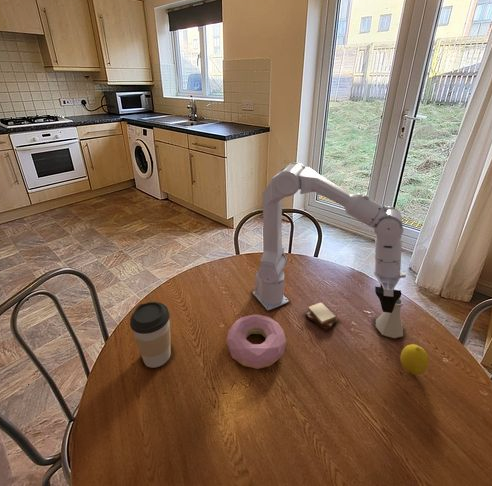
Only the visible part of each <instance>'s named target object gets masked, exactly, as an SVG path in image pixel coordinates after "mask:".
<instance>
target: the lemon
mask: <svg viewBox="0 0 492 486" xmlns="http://www.w3.org/2000/svg"><path fill="white" fill-rule="evenodd" d="M400 363H401V366H402V368H403V370H405V371H406V372H408V373H409V374H411V375H415V376H416V375H417V376H418V375H422V374H423V373H425V372H426V371H427V369H428V366H429V356H428V353H427V351H426V350H425V349H424V348H423V347H422V346H420V345H418V344H414V343H412V344H407V345H406V346H405V347H404V348H403V349H402V350H401V353H400Z"/></svg>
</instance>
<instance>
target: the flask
mask: <svg viewBox="0 0 492 486" xmlns="http://www.w3.org/2000/svg"><path fill="white" fill-rule="evenodd" d="M403 301H404V300H402V299H401V297H400V298H399V299H398V300H397V302H396V303H395V306H394V309H393V312H392V313H388V312H383V311H382V313H381V314H380V315H379V316H377V318H376V319H375V328H376V329H377V331H379V333H380V334H381V335H382V336H384V337H388V338H392V339H397V338H402V337H404V327H403V323H402V318H401V307H402V306H404V302H403Z"/></svg>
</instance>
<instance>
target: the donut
mask: <svg viewBox="0 0 492 486" xmlns="http://www.w3.org/2000/svg"><path fill="white" fill-rule="evenodd" d="M250 335H261V336H262V337H264V338H265V340H264V341H263V342H262V343H260V344H259V343H252V342H250V341H249V340H248V339H247V338H248V337H249V336H250ZM286 345H287V340H286V336H285V331H284V329H283V328H282V326H281V325H280V324H279V322H277V321H276V320H275V319H272V318H271V317H270V316H265V315H261V314H257V313H256V314H254V313H253V314H250V315H245V316H242V317H240V318H237V319H236V320H235V321H234V323H233V324H232V325H231V326H230V328H229V329H228V331H227V338H226V346H227V349H228V351H229V353H230V356H231V358H232V359H233V360H235V361H236V362H238V364H240V365H242V366H243V367H247V368H251V369H252V368H253V369H256V370H258V369H264V368H268V367H271V366H272V365H273V364H274V363H276V362H277V361H278V360H280V359H281V358H282V357H283V356H284V354H285V351H286Z"/></svg>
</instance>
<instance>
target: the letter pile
mask: <svg viewBox="0 0 492 486" xmlns="http://www.w3.org/2000/svg"><path fill="white" fill-rule="evenodd" d="M307 310H308V312H306V313H305V317H306V318H307V319H309V320H311V321H312V322H313V323H314V324H316V325H317V326H319V327H320V328H322V330H324V331H328V330H329V329H332V326H333V325H335V324H336V323H337V322H338V319H337V314H336V313H333V312H332V311H331V310H330V309H329V308H328V307H327V306H326V305H325V304H324V303H323V302H322V301H321V302H318V303H315V304H312V305H309V306H308V307H307Z"/></svg>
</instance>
